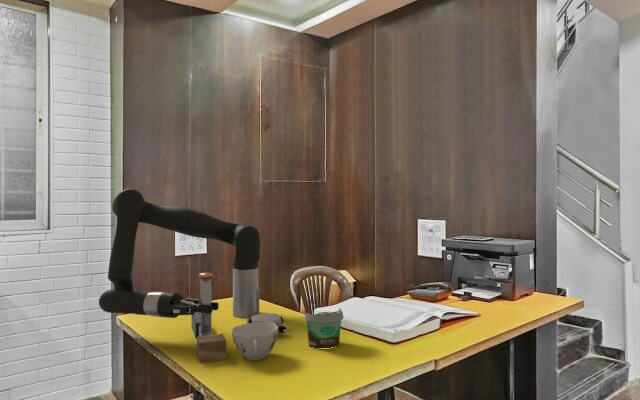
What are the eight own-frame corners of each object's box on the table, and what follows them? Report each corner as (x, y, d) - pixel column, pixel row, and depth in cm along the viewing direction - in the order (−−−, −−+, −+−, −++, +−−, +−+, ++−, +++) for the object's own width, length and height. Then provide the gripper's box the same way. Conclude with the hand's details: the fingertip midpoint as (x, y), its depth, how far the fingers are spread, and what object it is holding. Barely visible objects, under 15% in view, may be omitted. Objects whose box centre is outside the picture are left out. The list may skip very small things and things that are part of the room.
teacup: (233, 350, 131) (233, 322, 131) (277, 348, 132) (277, 320, 132) (230, 369, 116) (230, 338, 116) (279, 367, 117) (279, 336, 117)
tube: (193, 327, 150) (193, 266, 150) (206, 326, 151) (206, 265, 151) (201, 348, 129) (201, 277, 129) (215, 347, 131) (215, 276, 131)
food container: (313, 353, 128) (313, 317, 128) (304, 346, 134) (304, 312, 134) (351, 346, 134) (351, 312, 134) (340, 340, 139) (340, 307, 139)
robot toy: (291, 340, 143) (281, 324, 157) (291, 326, 142) (281, 311, 157) (251, 344, 139) (245, 327, 153) (251, 329, 139) (245, 313, 153)
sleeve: (191, 326, 154) (191, 313, 154) (205, 325, 156) (205, 312, 156) (195, 338, 142) (195, 323, 142) (210, 336, 143) (210, 321, 143)
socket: (196, 355, 126) (196, 336, 126) (222, 352, 129) (222, 333, 129) (199, 362, 121) (199, 342, 121) (226, 359, 123) (226, 340, 123)
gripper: (149, 297, 132) (203, 300, 128) (175, 287, 146) (225, 290, 142) (149, 323, 132) (203, 327, 128) (175, 311, 146) (225, 314, 142)
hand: (214, 307), depth 135 cm, fingers closed on tube, 3 cm apart
